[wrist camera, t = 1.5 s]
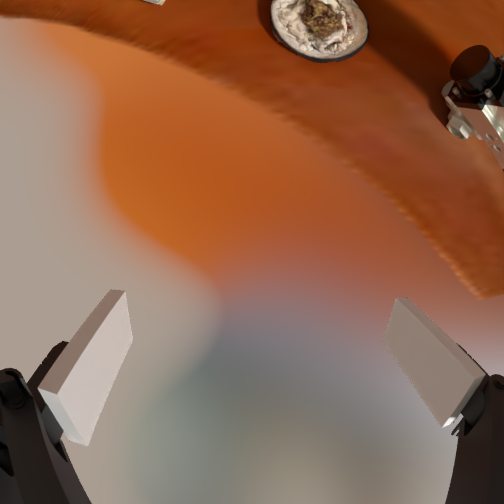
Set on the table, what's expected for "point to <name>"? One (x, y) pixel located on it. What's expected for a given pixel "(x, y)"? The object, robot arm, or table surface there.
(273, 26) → the white shallow bowl
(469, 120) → the ball valve
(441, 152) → the table surface
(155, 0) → the beige layered block
